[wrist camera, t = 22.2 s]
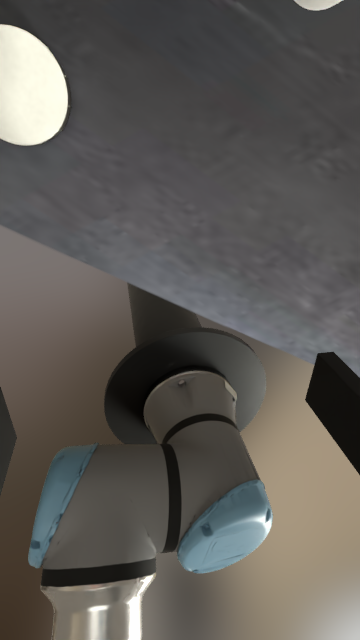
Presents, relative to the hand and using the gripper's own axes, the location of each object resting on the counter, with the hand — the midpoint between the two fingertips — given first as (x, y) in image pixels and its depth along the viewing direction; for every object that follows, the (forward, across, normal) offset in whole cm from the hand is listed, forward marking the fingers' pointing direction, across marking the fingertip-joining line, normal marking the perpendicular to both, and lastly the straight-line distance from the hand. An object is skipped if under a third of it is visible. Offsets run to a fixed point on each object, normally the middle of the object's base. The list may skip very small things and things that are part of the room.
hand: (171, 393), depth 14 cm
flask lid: (+26, -9, +12) cm, 30 cm away
